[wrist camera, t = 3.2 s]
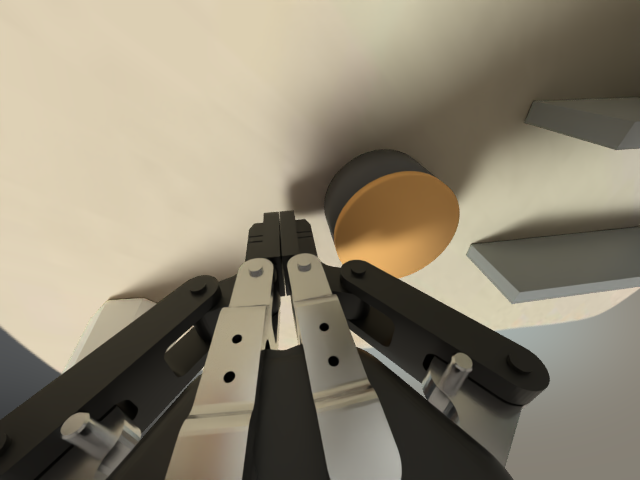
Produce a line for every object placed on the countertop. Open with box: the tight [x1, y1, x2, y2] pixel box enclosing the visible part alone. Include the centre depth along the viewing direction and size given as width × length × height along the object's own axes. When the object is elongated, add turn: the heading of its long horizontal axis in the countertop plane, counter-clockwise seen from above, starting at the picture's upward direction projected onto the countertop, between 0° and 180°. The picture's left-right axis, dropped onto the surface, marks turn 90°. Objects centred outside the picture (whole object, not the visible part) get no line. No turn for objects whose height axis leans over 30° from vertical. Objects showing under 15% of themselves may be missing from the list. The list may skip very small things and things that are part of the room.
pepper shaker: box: [62, 298, 176, 374], centre depth 14 cm, size 5×5×11 cm
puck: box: [324, 150, 459, 278], centre depth 14 cm, size 6×6×4 cm
